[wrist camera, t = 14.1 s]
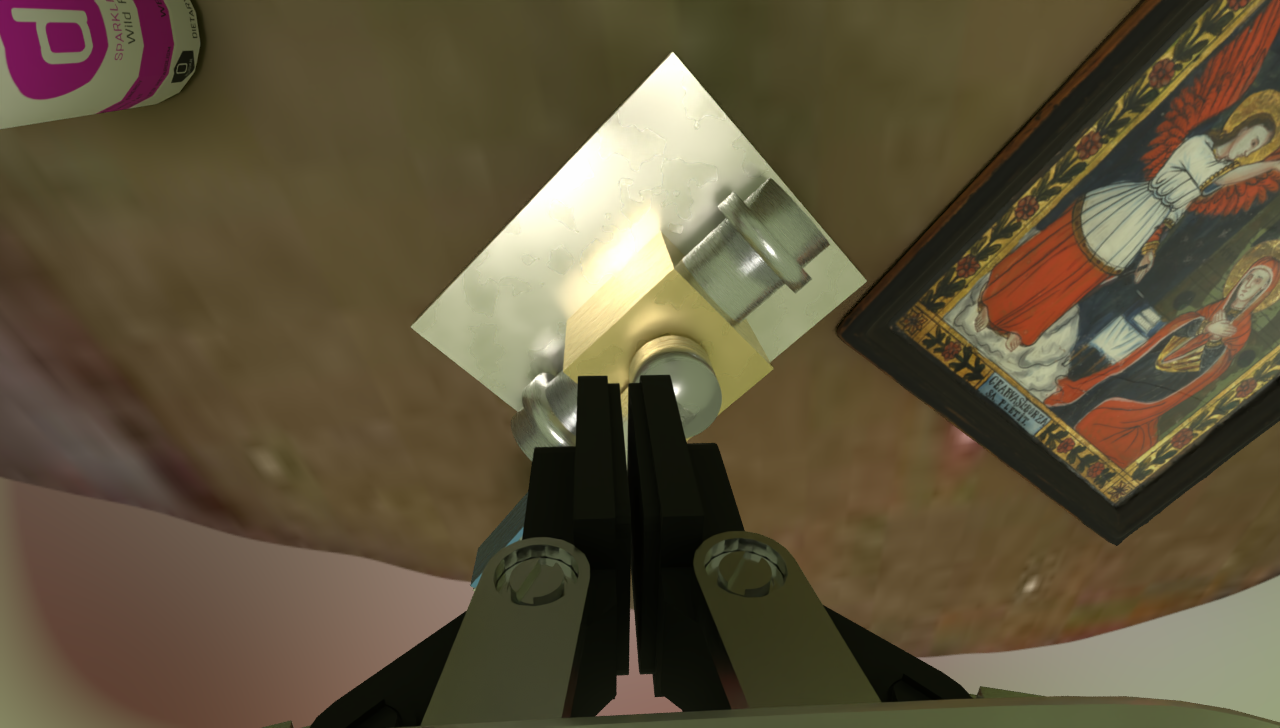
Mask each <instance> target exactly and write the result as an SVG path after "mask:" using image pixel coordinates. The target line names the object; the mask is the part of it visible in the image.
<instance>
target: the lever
mask: <svg viewBox="0 0 1280 728" xmlns="http://www.w3.org/2000/svg"><path fill="white" fill-rule="evenodd" d="M640 375H670V376H671V380H672V384H673V388H674V392H675V396H676V401H677V405H678V409H679V413H680V417H681V421H682V426H683V430H684V434H685V438H689V437H692V436H695V435H697V434H699V433H701V432H702V431H704V430H705V429H706V428H708V427H709V426H710V425H711V424H712V422H713V421H714V420H715V418H716V417H717V415H718V413H719V411H720V408H721V403H722V393H721V389H720V385H719V383H718V380H717V377H716V375H715V372H714V369H713V367H712V364H711V361H710V359H709V356H708V354H707V353H706V351H705V350H704V349H703V348H702V347H701V346H700V345H699V344H698V343H696V342H695V341H693V340H691V339H689V338H686V337H682V336H674V335H671V336H663V337H659V338H656V339H654V340H651V341H650V342H648V343H646V344H645V345H644V346H642V347H641V348H640V349H639V350H638V351H637V353H636V354H635V356H634V357H633V359H632V361H631V364H630V368H629V383H639V380H640ZM621 406H622V418H623V429H624V440H625V452H626V463H627V447H628V387H627V388H626V389H625V391H624V392H623V393H622V394H621ZM527 498H528V493H527V494H526V495H525V496H524V497H523V498H522V499H521V500H520V502H519V503H518V504H517V505H516V506H515V507H514V508H513V510H512V511H511V512H510V513H509V514H508V515H507V516H506V517H505V519H504V520H503V521H502V522H501V523H500V524H499V525H498V527H497V528H496V529H495V530H494V531H493V532H492V533H491V535H490V536H489V537H488V538H487V539H486V540H485V541H484V542H483V544H482V545H481V546H480V547H479V548H478V552H477V557H476V562H475V566H474V571H473V576H472V580H471V585H470V586H471V587H473V591H475V590H476V587H477V585H478V582H479V580H480V577H481V575H482V572H483V570H484V568H485V567H486V565H487V563H488V562H489V560H490V559H491V558H492V557H493V556H494V555H495V554H496V553H497V552H499V551H500V550H501V549H502V548H504V547H506V546H508V545H510V544H512V543H514V542H517V541H521V540H522V535H523V528H524V520H525V513H526V505H527Z"/></svg>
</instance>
